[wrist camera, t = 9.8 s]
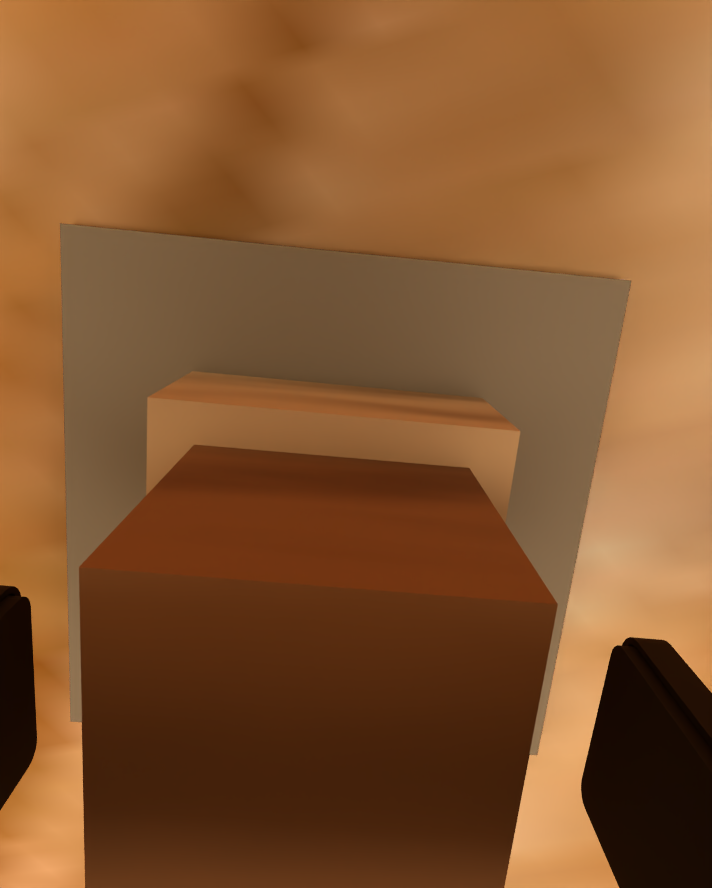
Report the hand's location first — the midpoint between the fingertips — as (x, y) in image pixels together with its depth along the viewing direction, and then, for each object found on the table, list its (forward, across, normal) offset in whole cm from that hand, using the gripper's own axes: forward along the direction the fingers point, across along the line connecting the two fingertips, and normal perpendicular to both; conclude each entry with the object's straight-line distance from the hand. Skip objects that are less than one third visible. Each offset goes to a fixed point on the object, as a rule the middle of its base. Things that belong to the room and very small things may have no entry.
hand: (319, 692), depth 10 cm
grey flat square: (+9, 0, +1) cm, 9 cm away
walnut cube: (+4, 0, 0) cm, 4 cm away
